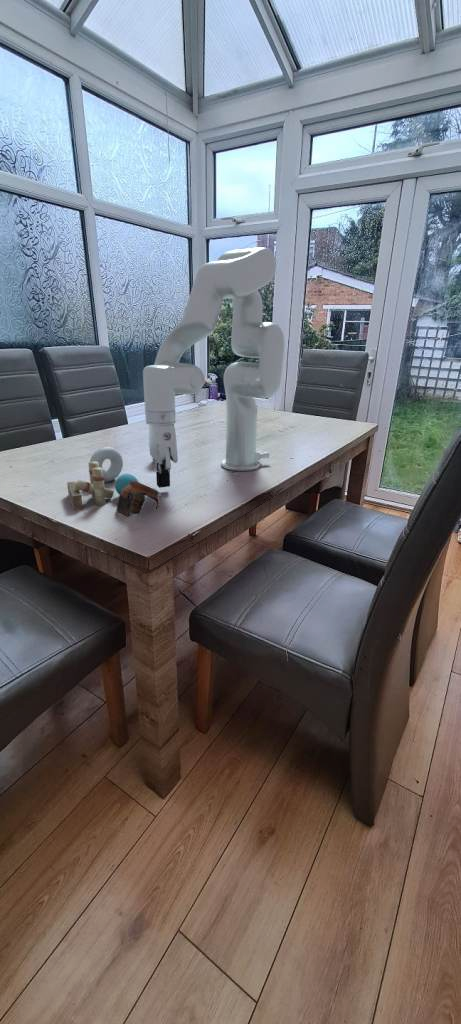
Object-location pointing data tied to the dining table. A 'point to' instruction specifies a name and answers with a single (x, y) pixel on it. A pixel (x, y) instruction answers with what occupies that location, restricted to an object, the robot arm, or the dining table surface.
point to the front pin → (92, 488)
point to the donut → (114, 458)
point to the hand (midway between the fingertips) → (163, 486)
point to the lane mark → (148, 497)
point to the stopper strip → (74, 496)
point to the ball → (124, 482)
